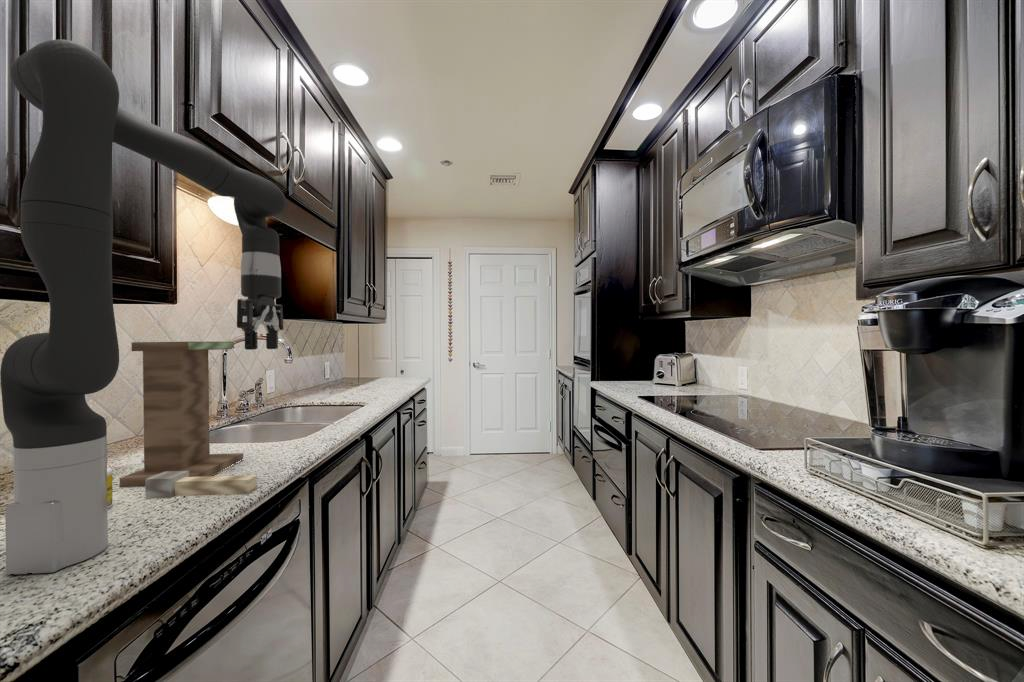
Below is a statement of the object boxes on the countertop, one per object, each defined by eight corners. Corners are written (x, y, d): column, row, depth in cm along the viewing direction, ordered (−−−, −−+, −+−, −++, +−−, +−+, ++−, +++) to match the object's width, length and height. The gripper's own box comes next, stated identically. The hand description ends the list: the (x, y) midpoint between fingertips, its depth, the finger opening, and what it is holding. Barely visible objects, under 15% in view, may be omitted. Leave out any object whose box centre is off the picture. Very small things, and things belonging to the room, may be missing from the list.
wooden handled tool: (259, 487, 88) (259, 469, 88) (245, 496, 83) (245, 476, 83) (165, 489, 88) (165, 471, 88) (145, 498, 82) (145, 479, 83)
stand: (196, 484, 90) (194, 341, 90) (119, 487, 89) (117, 342, 89) (243, 460, 108) (241, 341, 108) (180, 462, 107) (178, 342, 107)
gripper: (261, 269, 82) (262, 349, 82) (294, 280, 96) (294, 348, 96) (222, 269, 81) (223, 350, 81) (261, 280, 96) (261, 349, 96)
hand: (262, 349), depth 89 cm, fingers open, 8 cm apart
